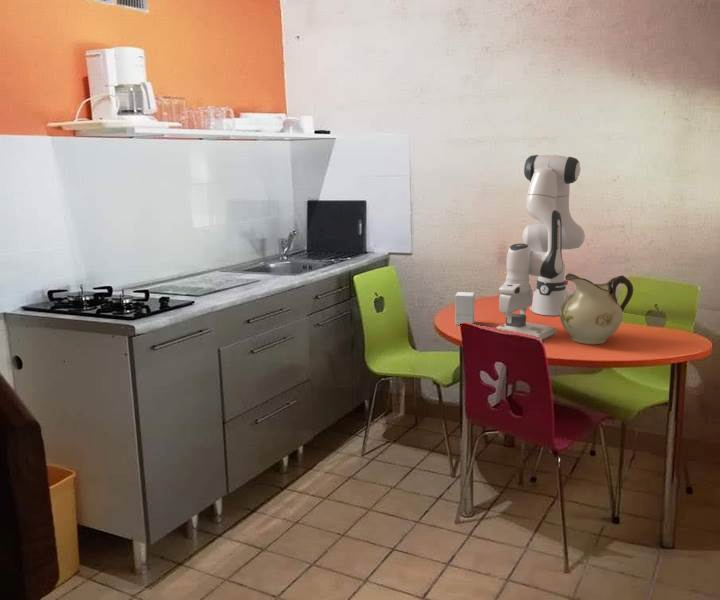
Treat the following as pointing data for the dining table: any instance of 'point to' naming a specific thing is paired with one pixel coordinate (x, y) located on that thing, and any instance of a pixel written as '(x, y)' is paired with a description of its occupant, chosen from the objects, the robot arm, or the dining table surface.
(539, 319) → the dining table surface
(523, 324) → the plug
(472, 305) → the supplement box
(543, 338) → the double socket
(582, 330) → the pitcher
